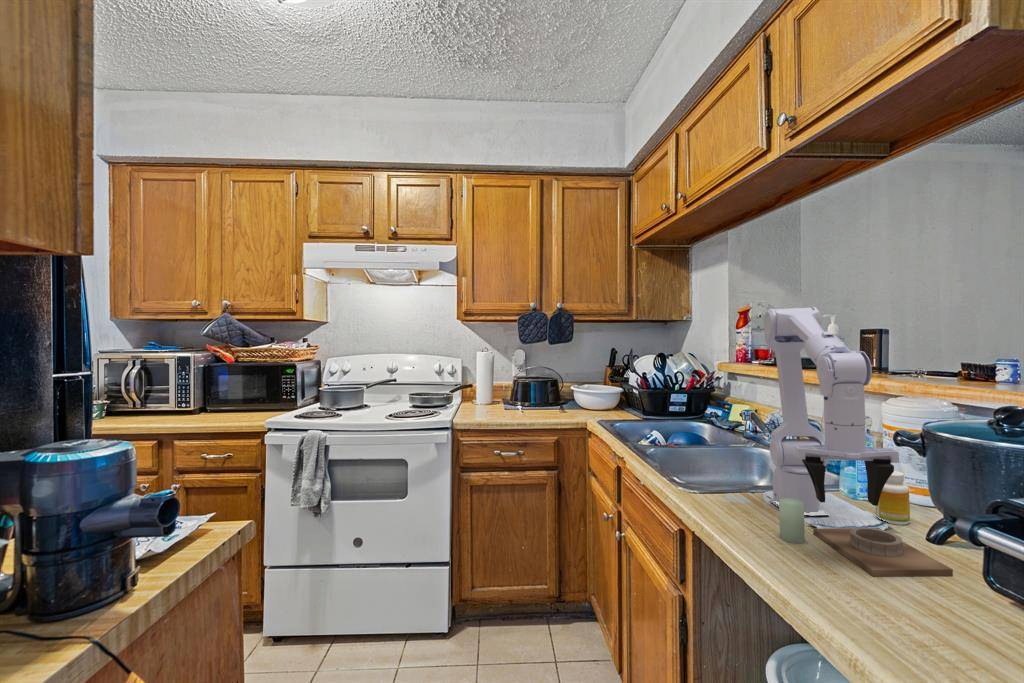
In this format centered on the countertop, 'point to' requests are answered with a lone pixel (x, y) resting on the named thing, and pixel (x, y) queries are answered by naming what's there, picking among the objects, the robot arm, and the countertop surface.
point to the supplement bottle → (894, 501)
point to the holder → (881, 552)
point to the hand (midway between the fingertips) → (846, 501)
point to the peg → (792, 520)
